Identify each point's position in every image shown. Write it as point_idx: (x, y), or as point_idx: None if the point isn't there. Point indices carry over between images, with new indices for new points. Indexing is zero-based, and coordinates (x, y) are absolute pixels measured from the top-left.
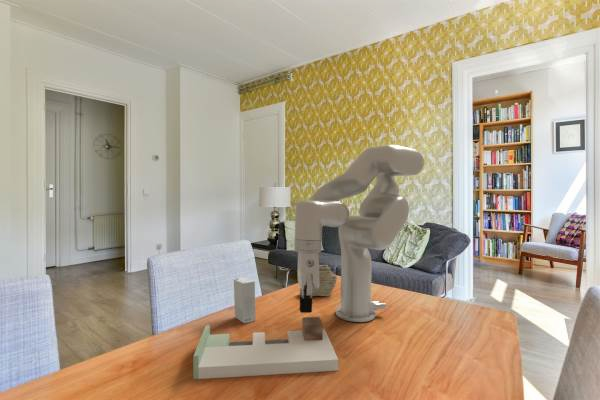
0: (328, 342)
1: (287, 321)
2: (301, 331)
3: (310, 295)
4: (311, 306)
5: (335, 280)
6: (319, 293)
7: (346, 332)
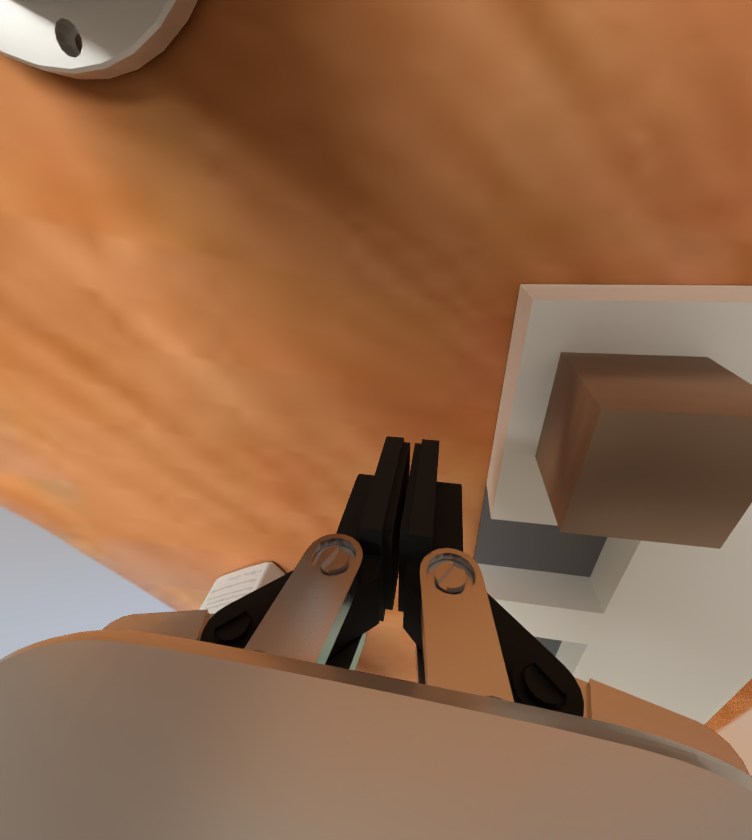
0: None
1: (268, 450)
2: (517, 457)
3: (693, 728)
4: (436, 473)
5: None
6: None
7: (453, 46)
